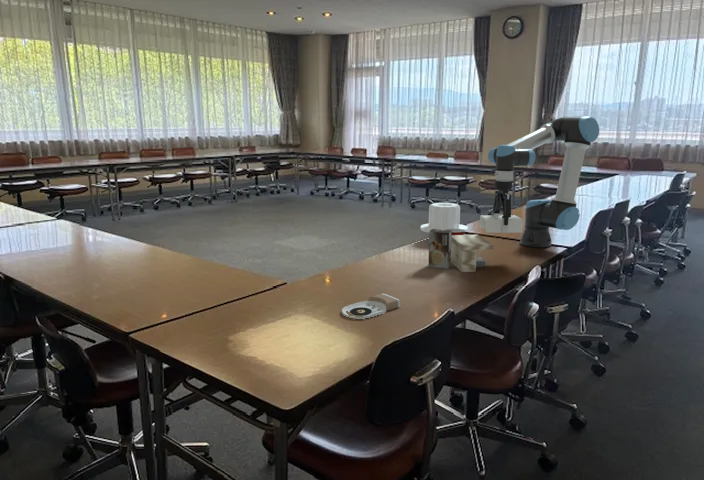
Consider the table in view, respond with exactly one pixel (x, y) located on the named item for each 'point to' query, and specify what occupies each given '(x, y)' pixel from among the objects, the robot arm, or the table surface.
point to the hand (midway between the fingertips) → (500, 229)
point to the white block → (500, 224)
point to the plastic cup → (457, 231)
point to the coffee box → (440, 248)
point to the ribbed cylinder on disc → (443, 217)
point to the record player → (372, 306)
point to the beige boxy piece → (468, 251)
